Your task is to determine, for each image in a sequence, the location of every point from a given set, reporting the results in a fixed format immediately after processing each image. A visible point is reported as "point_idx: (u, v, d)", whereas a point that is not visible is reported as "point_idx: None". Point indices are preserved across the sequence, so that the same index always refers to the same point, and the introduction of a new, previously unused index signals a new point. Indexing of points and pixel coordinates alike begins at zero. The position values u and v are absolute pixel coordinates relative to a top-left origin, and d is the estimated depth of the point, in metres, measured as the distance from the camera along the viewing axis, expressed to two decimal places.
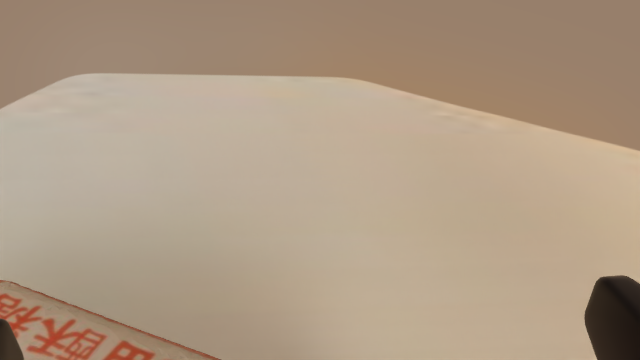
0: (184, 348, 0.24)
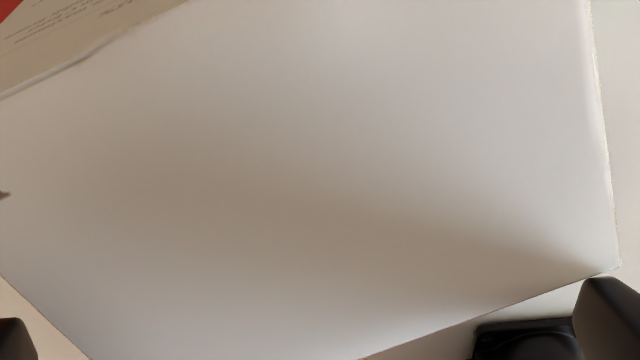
0: None
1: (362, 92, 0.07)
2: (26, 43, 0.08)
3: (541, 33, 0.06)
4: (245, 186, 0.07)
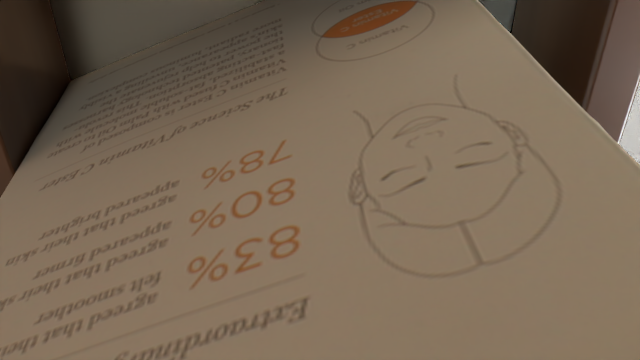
0: None
1: None
2: None
3: None
4: None
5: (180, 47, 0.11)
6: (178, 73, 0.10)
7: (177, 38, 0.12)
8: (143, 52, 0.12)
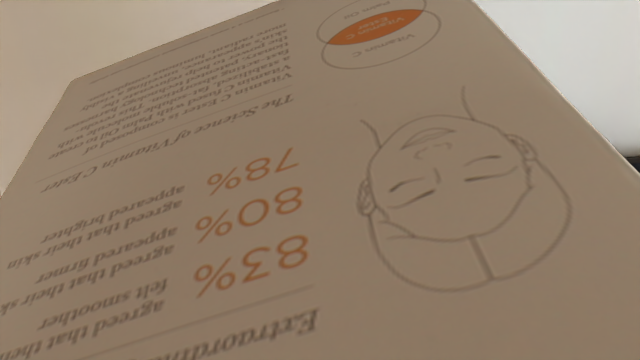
0: None
1: None
2: None
3: None
4: None
5: (183, 49, 0.11)
6: (181, 76, 0.10)
7: (180, 40, 0.12)
8: (145, 53, 0.12)
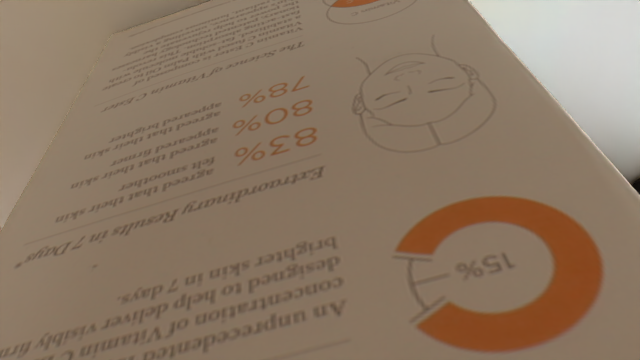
0: None
1: None
2: None
3: None
4: None
5: (209, 11, 0.14)
6: (210, 30, 0.13)
7: (206, 4, 0.14)
8: (176, 14, 0.14)
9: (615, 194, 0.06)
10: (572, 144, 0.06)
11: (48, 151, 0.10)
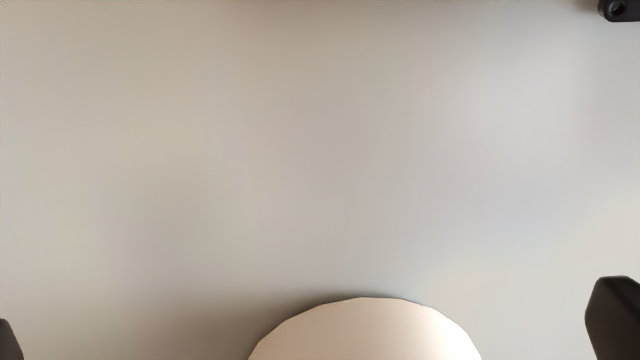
0: None
1: None
2: None
3: None
4: None
5: None
6: None
7: None
8: None
9: None
10: None
11: None
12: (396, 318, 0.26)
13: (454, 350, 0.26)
